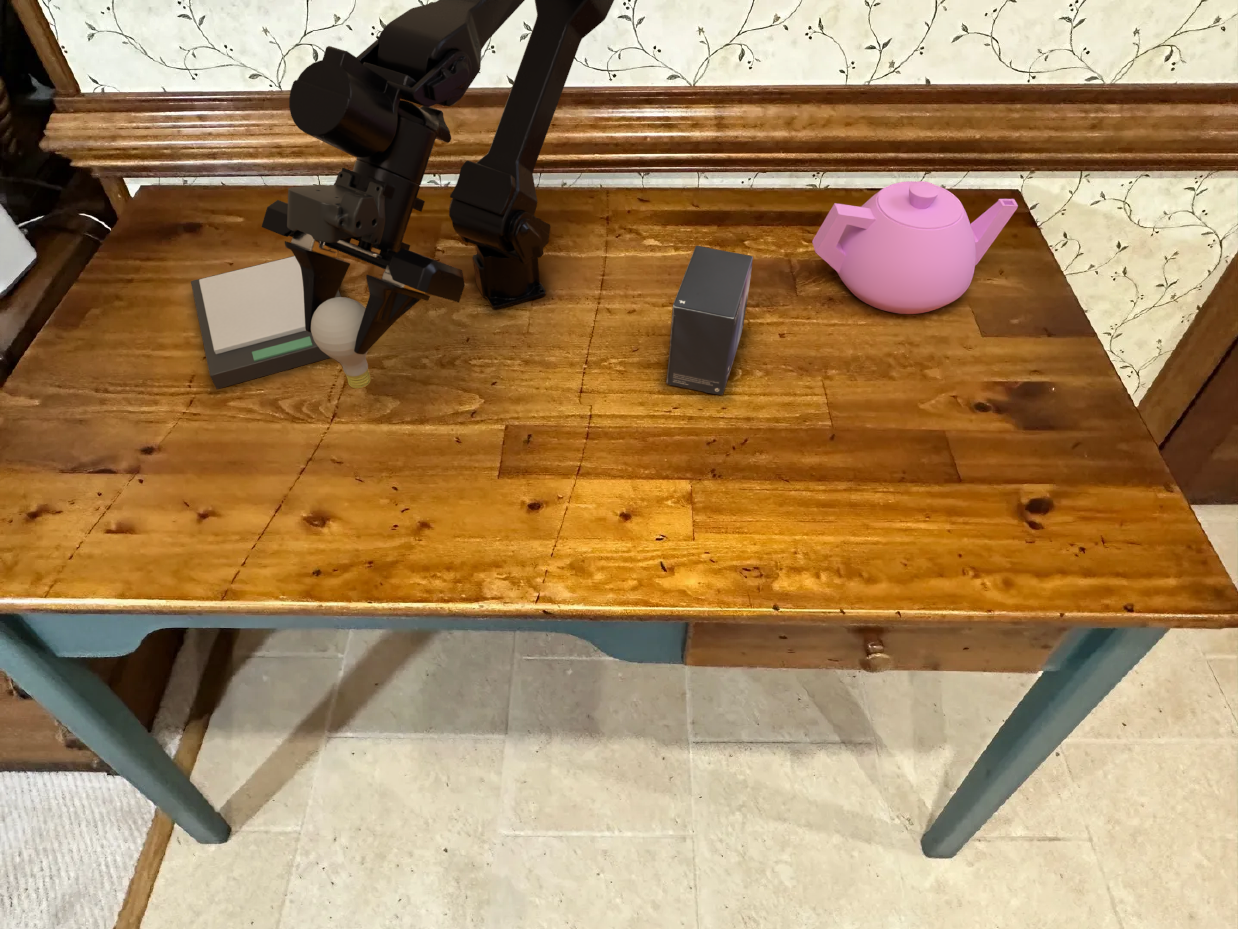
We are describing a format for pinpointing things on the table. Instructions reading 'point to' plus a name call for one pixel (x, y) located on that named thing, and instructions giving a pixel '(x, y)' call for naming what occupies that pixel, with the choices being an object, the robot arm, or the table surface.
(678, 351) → the small box
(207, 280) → the scale
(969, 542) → the table surface
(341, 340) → the light bulb
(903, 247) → the teapot
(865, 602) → the table surface
